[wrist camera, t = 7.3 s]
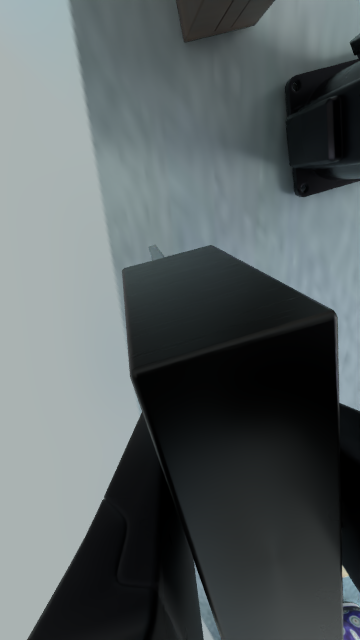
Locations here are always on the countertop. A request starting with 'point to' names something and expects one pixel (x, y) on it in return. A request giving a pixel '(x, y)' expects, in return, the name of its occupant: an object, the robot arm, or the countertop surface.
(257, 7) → the knife block
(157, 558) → the robot arm
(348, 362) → the countertop surface
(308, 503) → the black handle
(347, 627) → the teapot
